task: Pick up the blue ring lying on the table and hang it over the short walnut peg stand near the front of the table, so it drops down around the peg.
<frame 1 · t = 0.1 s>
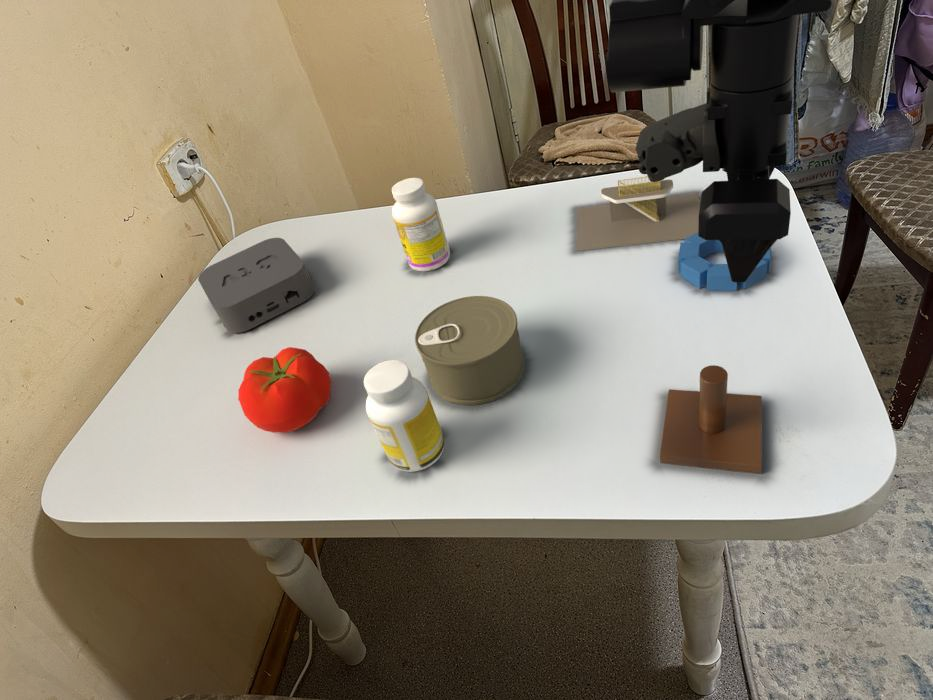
hand: (739, 250, 60), 17 cm above the table, tool pointing down, fingers open, 9 cm apart
peg stand: (711, 432, 66), on the table
blue ring: (723, 265, 85), on the table
tomato: (298, 411, 82), on the table
streaming box: (264, 298, 104), on the table
can: (477, 371, 80), on the table
pill bottle: (417, 452, 72), on the table
supplement bottle: (430, 261, 101), on the table
platform: (638, 222, 97), on the table
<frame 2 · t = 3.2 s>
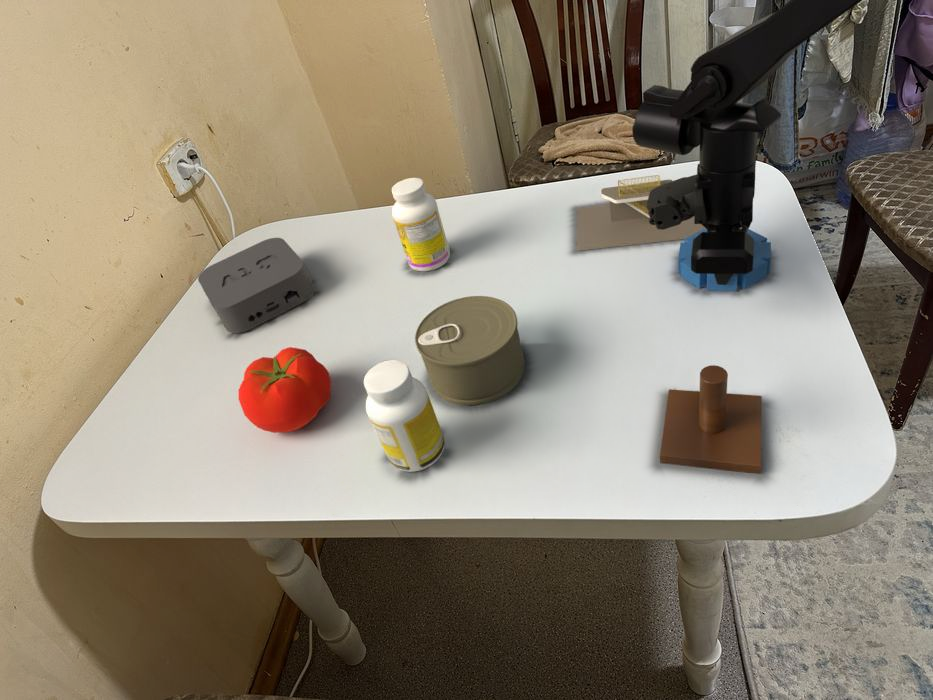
hand: (722, 277, 81), 1 cm above the table, tool pointing down, fingers closed on blue ring, 2 cm apart
blue ring: (723, 265, 85), on the table, touching gripper
everything else where it was.
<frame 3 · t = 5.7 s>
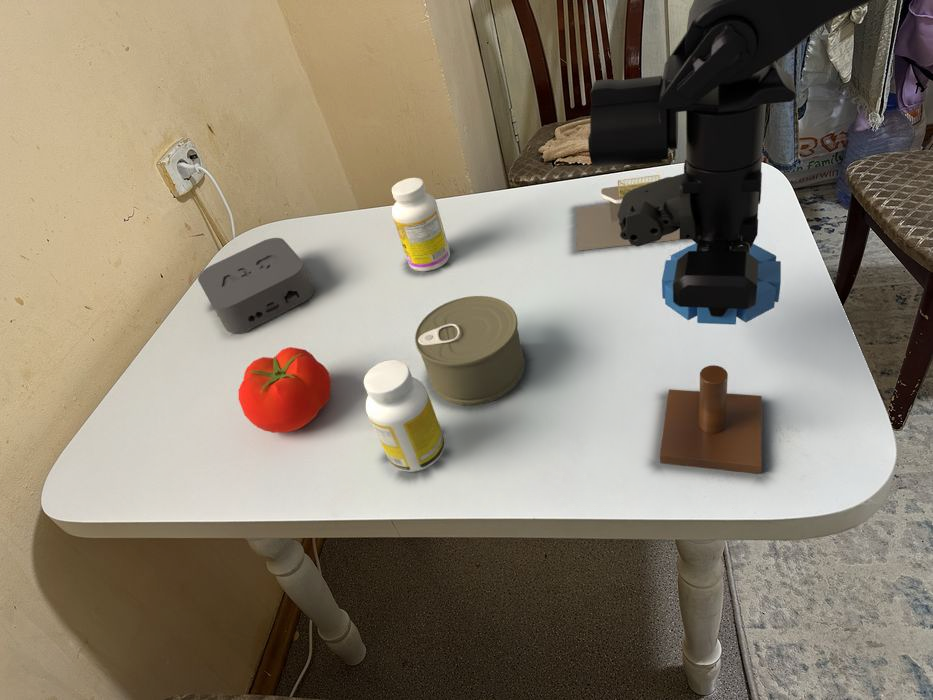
hand: (718, 306, 63), 11 cm above the table, tool pointing down, fingers closed on blue ring, 2 cm apart
blue ring: (719, 289, 67), point 10 cm above the table, touching gripper
everything else where it was.
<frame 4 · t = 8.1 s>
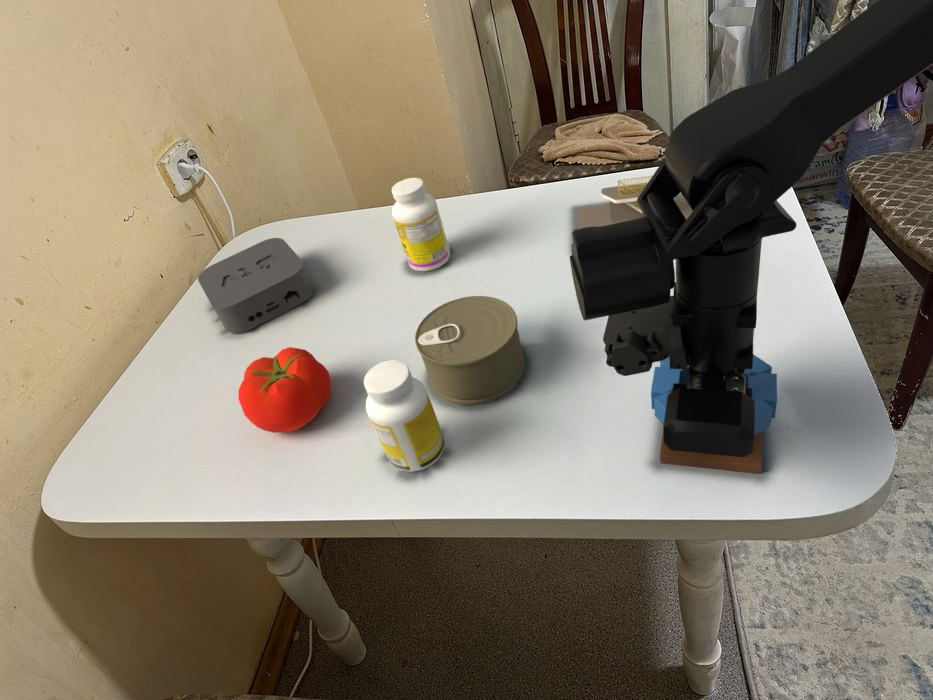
hand: (711, 424, 59), 6 cm above the table, tool pointing down, fingers closed on blue ring, 2 cm apart
blue ring: (712, 400, 63), point 5 cm above the table, touching gripper
everything else where it was.
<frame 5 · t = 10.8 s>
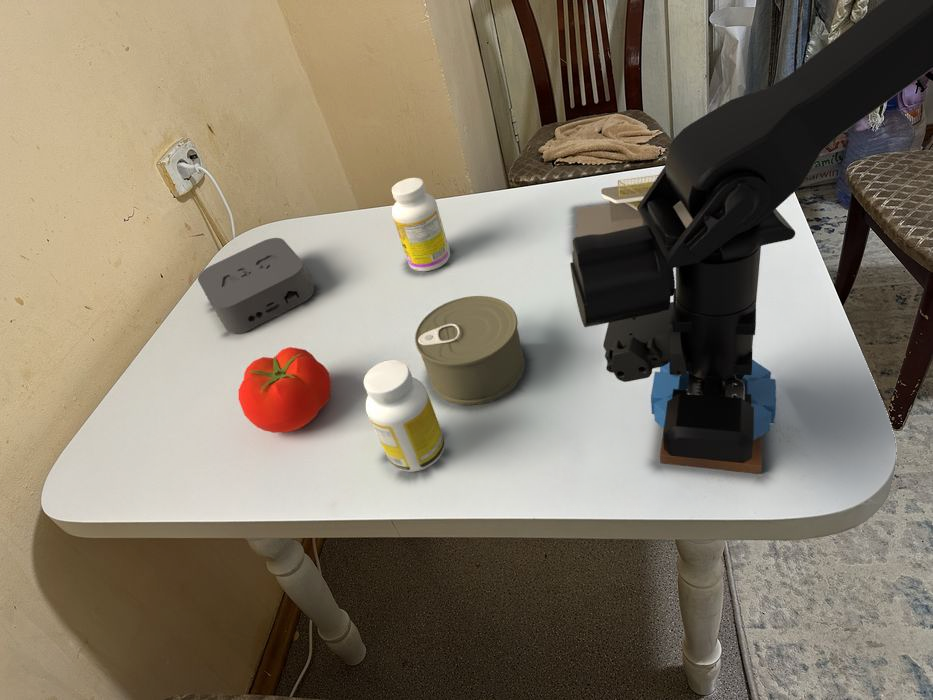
hand: (710, 429, 59), 5 cm above the table, tool pointing down, fingers closed on blue ring, 2 cm apart
blue ring: (711, 405, 63), point 4 cm above the table, touching gripper
everything else where it was.
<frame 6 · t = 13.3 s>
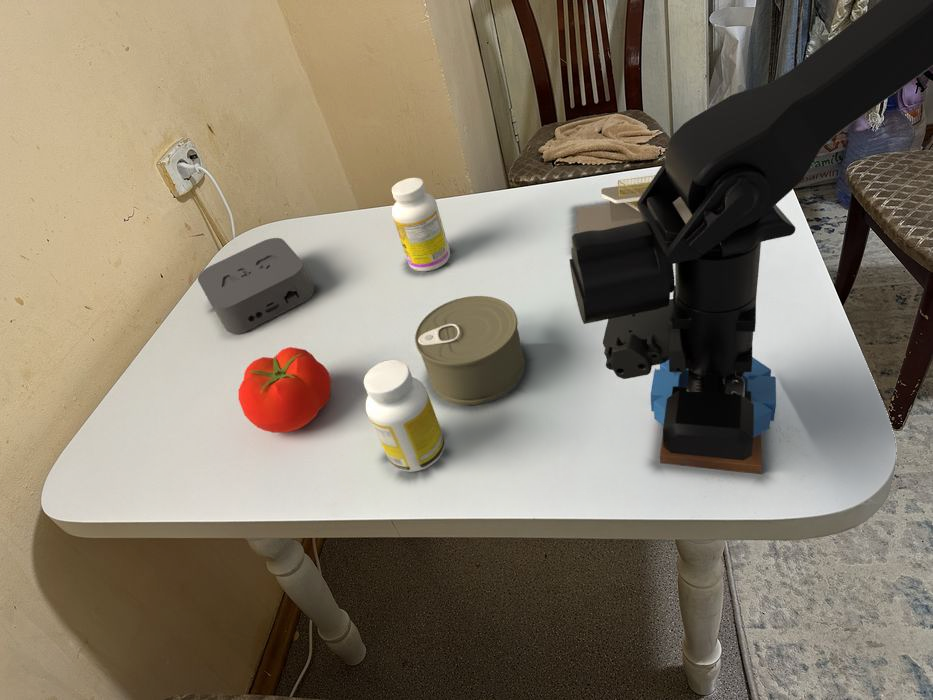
hand: (710, 427, 59), 6 cm above the table, tool pointing down, fingers closed on blue ring, 2 cm apart
blue ring: (711, 403, 63), point 4 cm above the table, touching gripper
everything else where it was.
when the fingers open (8 cm above the table, at t = 14.2 s): blue ring drops 6 cm, resting on peg stand.
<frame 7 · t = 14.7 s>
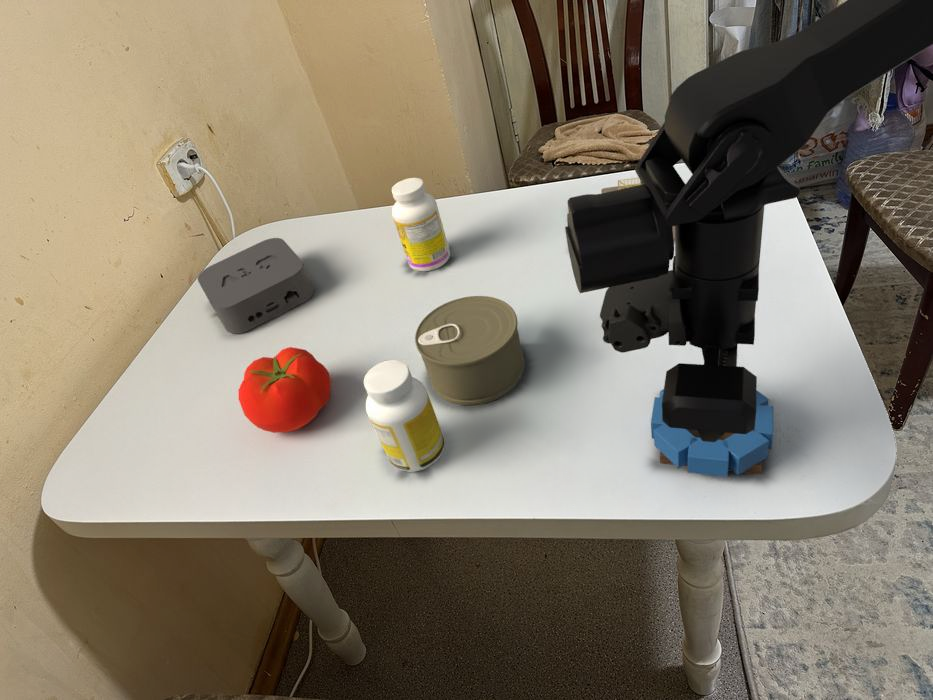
hand: (711, 405, 57), 8 cm above the table, tool pointing down, fingers open, 7 cm apart
blue ring: (710, 430, 64), point 1 cm above the table, touching peg stand
everything else where it was.
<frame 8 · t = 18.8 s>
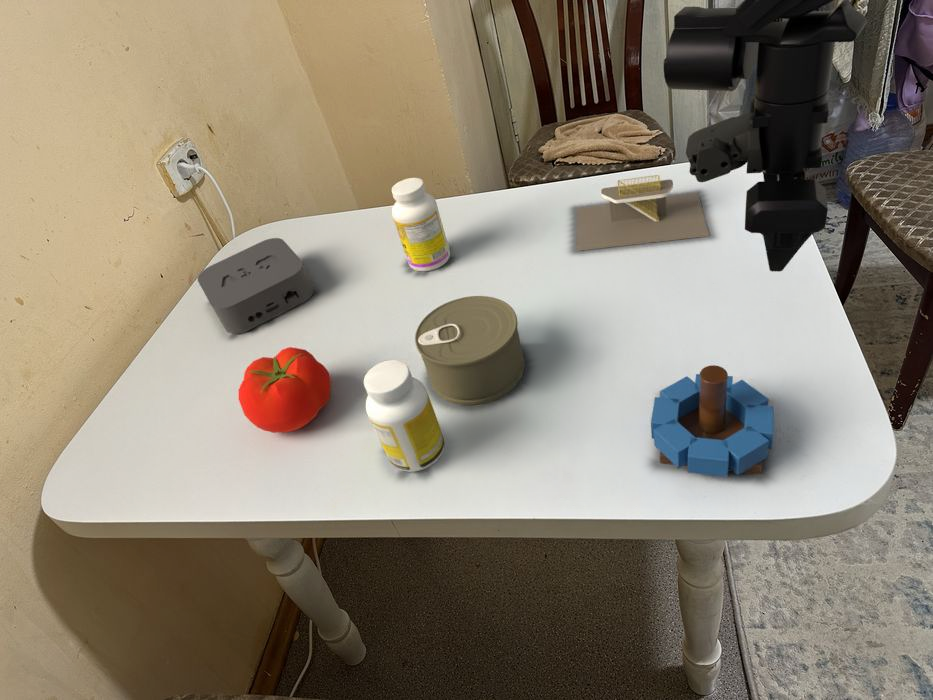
hand: (775, 243, 67), 12 cm above the table, tool pointing down, fingers open, 9 cm apart
nothing on the table moved.
at the end: blue ring 0.8 cm off-centre on the peg stand, point 1.2 cm above the peg stand's base; the gripper is holding nothing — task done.
